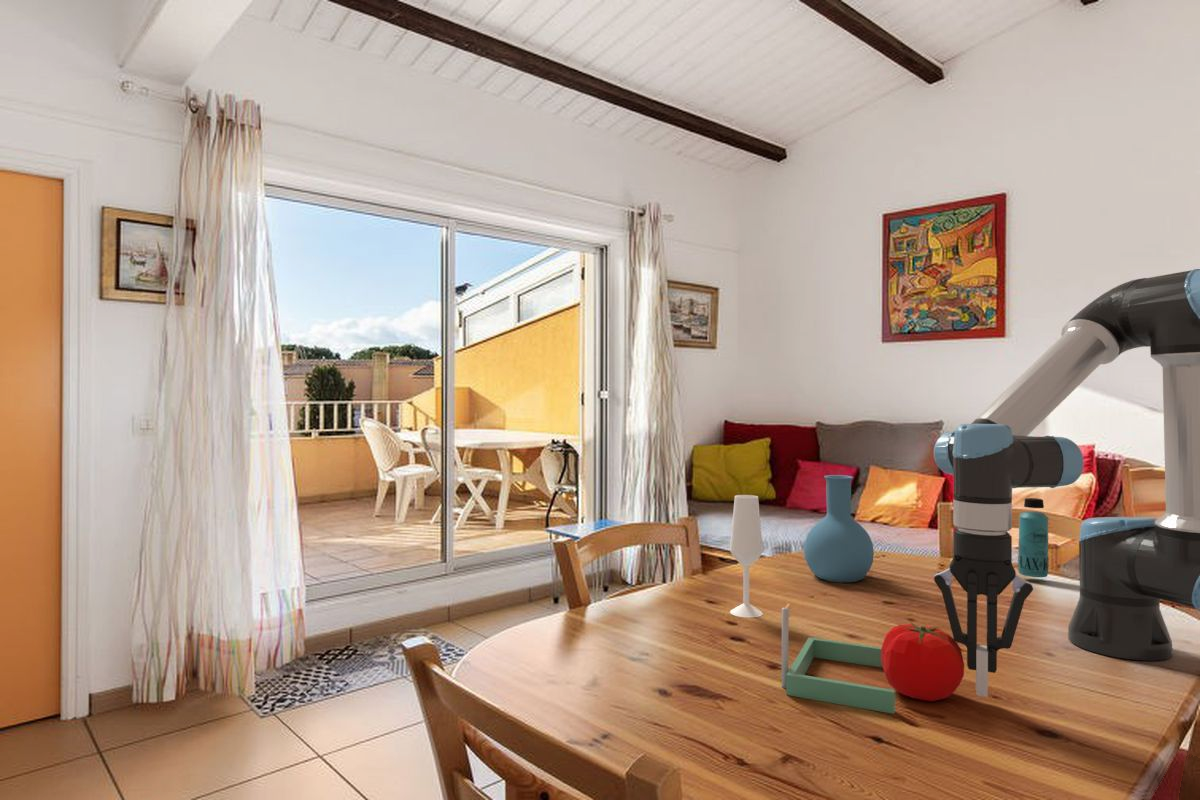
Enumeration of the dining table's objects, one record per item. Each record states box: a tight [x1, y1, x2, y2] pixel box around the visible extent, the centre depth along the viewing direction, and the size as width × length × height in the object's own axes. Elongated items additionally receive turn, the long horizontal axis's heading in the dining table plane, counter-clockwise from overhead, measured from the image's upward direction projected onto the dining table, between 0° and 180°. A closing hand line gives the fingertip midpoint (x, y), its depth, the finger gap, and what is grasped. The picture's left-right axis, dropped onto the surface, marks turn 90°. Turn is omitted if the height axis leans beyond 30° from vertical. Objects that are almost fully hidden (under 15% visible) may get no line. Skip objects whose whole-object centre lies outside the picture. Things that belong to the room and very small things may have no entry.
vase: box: [803, 474, 875, 584], centre depth 180 cm, size 16×16×25 cm
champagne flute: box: [729, 494, 764, 619], centre depth 150 cm, size 7×7×24 cm
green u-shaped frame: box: [781, 602, 896, 715], centre depth 114 cm, size 16×19×12 cm
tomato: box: [881, 621, 965, 702], centre depth 109 cm, size 12×12×10 cm
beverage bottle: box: [1017, 497, 1050, 578], centre depth 177 cm, size 6×7×20 cm
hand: (981, 692), depth 106 cm, fingers closed
